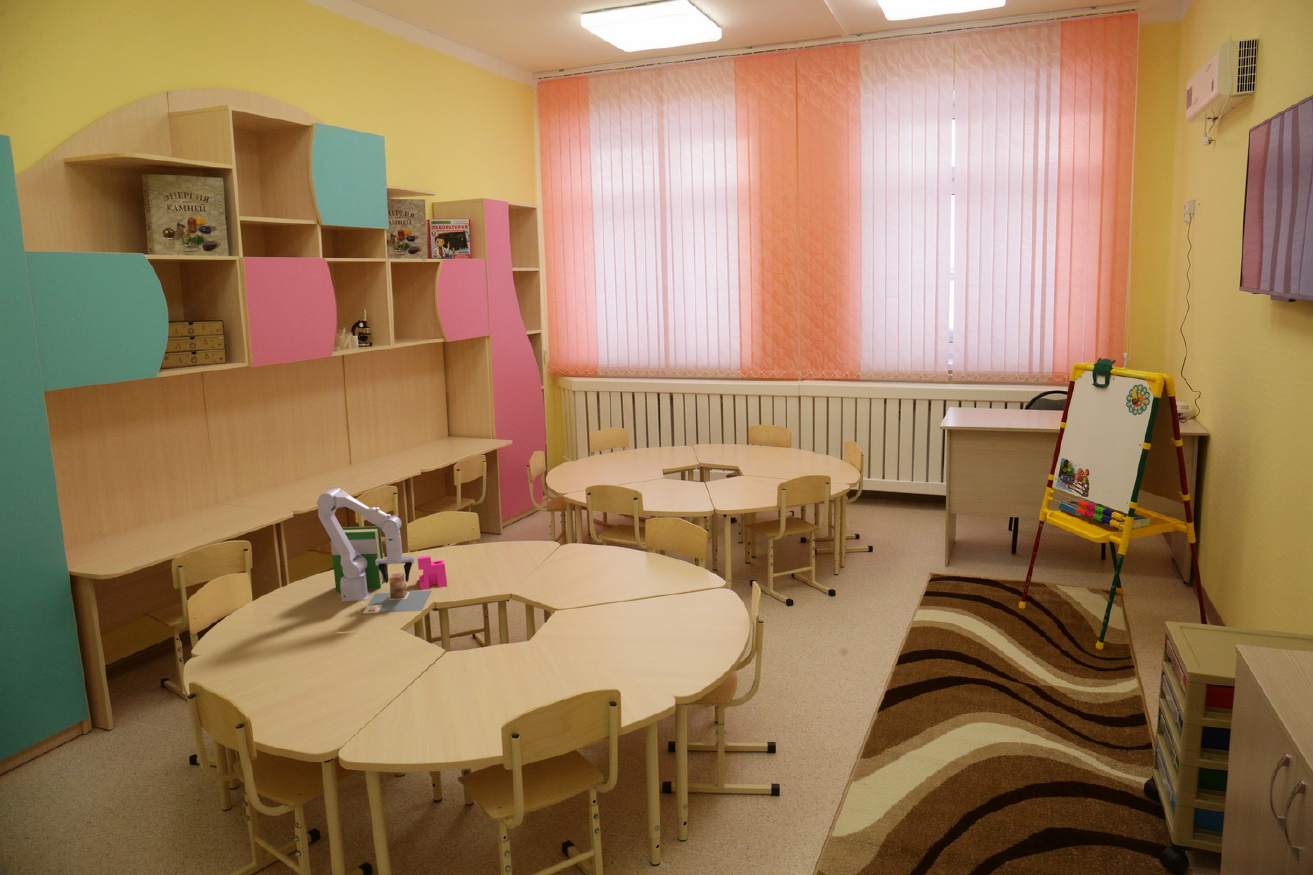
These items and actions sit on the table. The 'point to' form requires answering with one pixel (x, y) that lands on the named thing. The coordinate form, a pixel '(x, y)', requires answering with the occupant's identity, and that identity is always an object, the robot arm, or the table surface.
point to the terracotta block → (397, 581)
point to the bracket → (431, 572)
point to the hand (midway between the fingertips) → (397, 581)
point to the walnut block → (398, 593)
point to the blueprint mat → (397, 602)
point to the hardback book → (362, 554)
